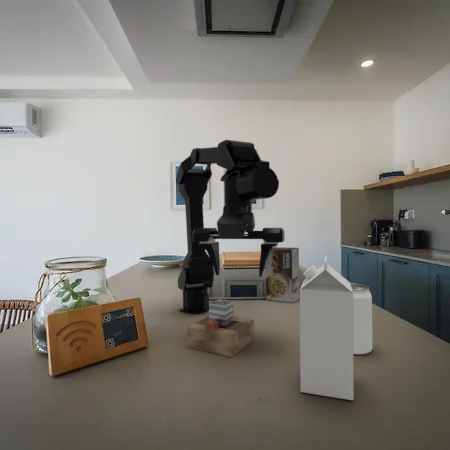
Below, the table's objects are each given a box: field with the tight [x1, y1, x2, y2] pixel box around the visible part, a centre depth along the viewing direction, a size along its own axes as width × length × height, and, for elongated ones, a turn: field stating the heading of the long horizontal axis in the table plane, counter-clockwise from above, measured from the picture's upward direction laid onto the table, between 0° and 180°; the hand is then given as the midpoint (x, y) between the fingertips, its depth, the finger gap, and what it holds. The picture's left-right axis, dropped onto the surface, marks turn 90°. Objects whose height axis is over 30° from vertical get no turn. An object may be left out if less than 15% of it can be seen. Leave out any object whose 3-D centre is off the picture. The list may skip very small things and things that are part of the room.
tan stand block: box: [186, 315, 255, 358], centre depth 64 cm, size 10×10×5 cm
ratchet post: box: [208, 298, 235, 329], centre depth 64 cm, size 4×4×8 cm
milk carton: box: [299, 256, 355, 401], centre depth 47 cm, size 7×7×19 cm
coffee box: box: [264, 246, 300, 304], centre depth 98 cm, size 9×6×16 cm
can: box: [350, 283, 373, 356], centre depth 60 cm, size 6×6×12 cm
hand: (238, 276), depth 66 cm, fingers open, 9 cm apart
